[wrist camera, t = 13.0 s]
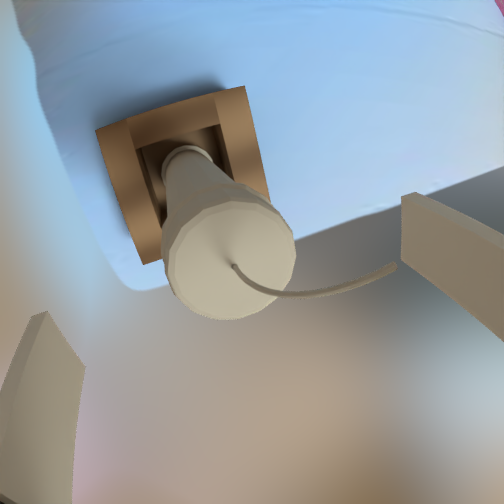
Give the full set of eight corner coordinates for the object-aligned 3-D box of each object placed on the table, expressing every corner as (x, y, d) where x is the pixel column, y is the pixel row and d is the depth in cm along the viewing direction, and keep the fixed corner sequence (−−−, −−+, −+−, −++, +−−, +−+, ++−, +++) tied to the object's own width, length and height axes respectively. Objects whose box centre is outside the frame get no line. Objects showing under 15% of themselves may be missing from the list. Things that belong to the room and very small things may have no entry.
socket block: (108, 127, 30) (95, 130, 23) (229, 91, 32) (244, 85, 25) (145, 238, 36) (143, 265, 30) (255, 203, 38) (274, 222, 32)
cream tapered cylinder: (151, 172, 32) (122, 405, 6) (188, 128, 31) (330, 178, 5) (189, 201, 35) (283, 452, 8) (225, 159, 34) (434, 315, 8)
